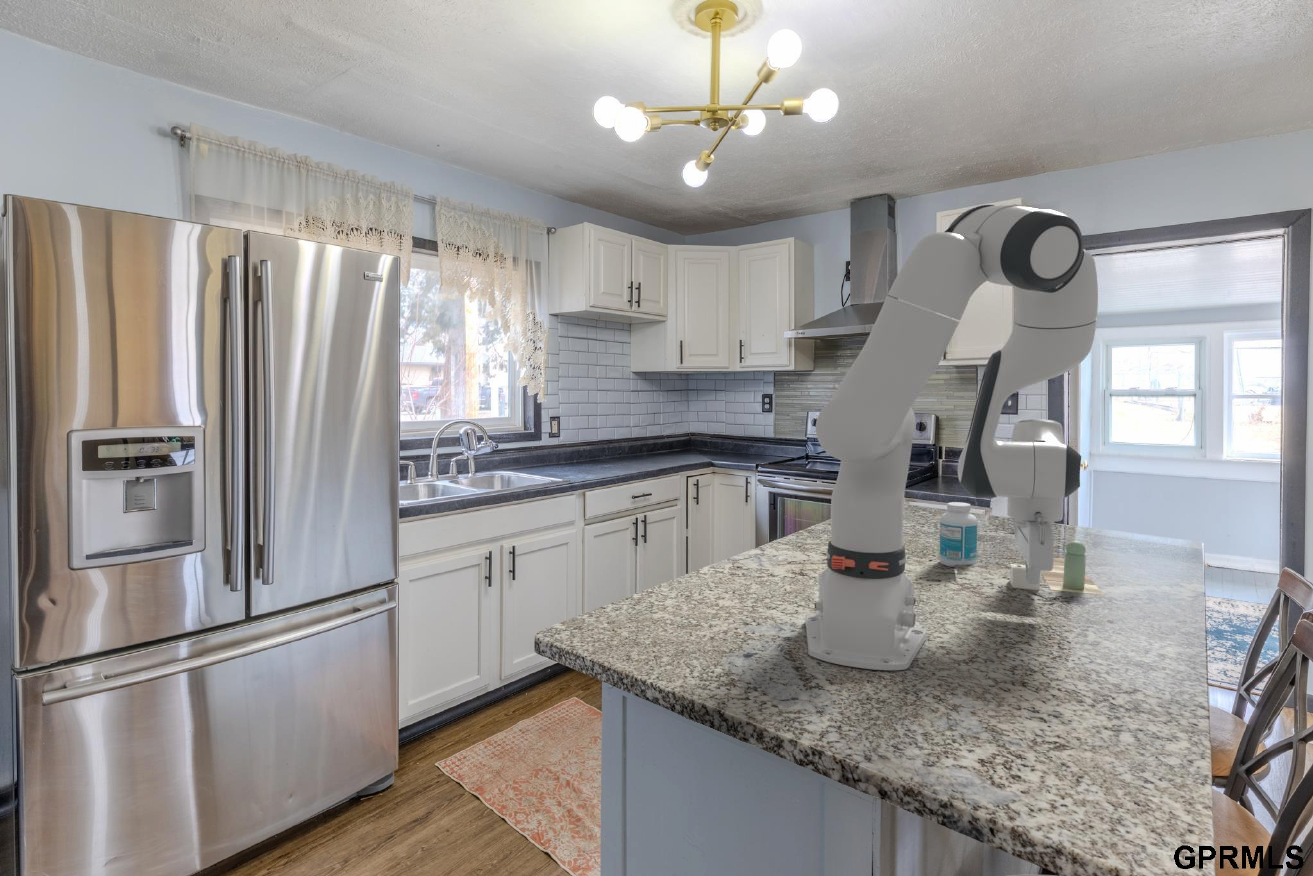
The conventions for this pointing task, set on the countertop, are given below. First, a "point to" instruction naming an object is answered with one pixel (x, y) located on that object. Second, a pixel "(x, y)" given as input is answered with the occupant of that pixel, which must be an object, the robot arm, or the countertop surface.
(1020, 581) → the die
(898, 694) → the countertop surface
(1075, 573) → the green bottle
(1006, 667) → the countertop surface
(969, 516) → the pill bottle
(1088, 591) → the board
